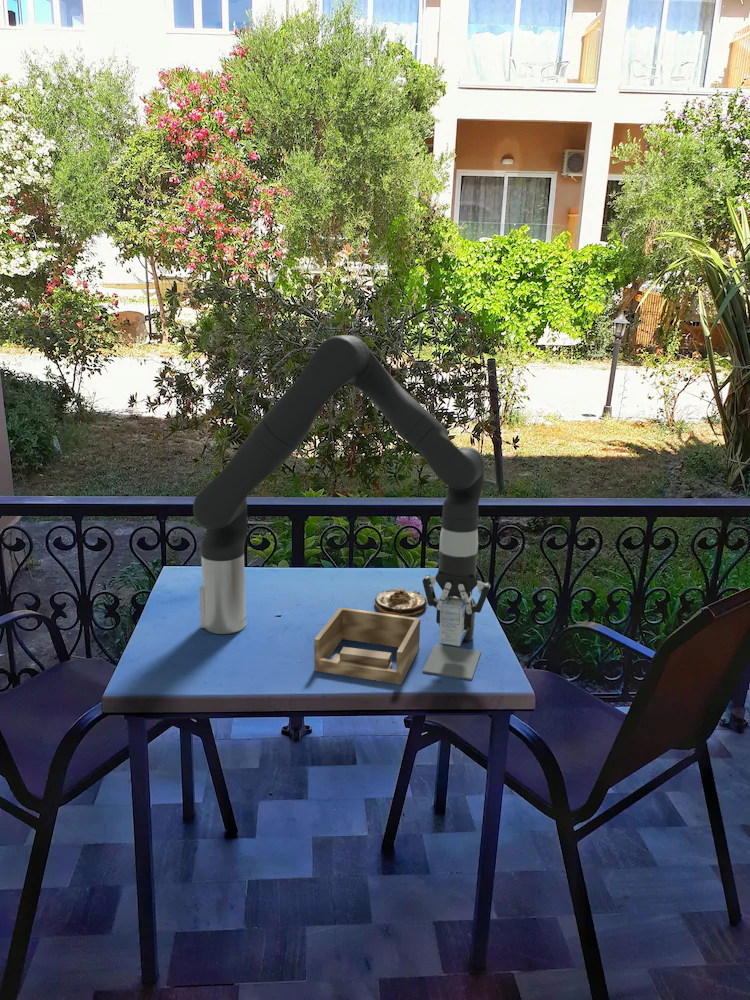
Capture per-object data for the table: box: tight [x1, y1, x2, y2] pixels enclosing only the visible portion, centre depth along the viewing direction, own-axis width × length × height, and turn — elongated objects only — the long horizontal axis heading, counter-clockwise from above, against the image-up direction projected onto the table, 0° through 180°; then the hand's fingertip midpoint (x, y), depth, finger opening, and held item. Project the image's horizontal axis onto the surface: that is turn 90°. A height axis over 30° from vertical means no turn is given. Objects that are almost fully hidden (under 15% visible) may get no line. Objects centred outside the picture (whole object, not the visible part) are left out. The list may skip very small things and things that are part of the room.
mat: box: [422, 644, 482, 681], centre depth 166 cm, size 10×12×1 cm
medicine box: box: [438, 596, 467, 647], centre depth 164 cm, size 8×4×9 cm, turn 162°
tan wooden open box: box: [313, 606, 421, 685], centre depth 166 cm, size 18×16×7 cm
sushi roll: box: [374, 588, 428, 617], centre depth 192 cm, size 15×15×4 cm
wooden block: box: [331, 646, 393, 669], centre depth 162 cm, size 12×3×4 cm, turn 74°
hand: (454, 626), depth 164 cm, fingers closed on medicine box, 4 cm apart
